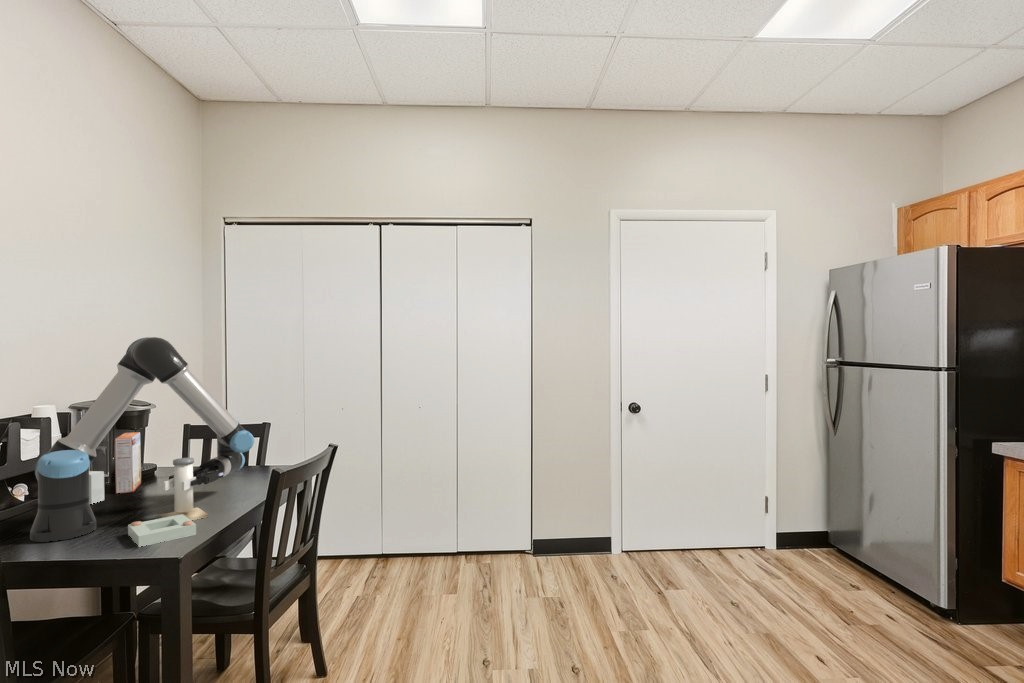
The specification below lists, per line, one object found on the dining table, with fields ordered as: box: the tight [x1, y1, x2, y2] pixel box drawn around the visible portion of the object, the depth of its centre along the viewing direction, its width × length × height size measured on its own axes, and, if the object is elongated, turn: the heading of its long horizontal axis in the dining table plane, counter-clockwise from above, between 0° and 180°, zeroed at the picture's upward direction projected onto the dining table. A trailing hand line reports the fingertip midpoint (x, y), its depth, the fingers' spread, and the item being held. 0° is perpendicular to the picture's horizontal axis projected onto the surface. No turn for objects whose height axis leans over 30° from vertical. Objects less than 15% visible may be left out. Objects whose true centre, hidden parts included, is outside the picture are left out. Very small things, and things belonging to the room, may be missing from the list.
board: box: [159, 507, 209, 521], centre depth 177 cm, size 11×11×1 cm
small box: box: [89, 470, 105, 505], centre depth 195 cm, size 8×6×10 cm
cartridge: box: [172, 457, 195, 512], centre depth 177 cm, size 6×6×16 cm
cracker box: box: [114, 431, 142, 494], centre depth 213 cm, size 14×6×21 cm, turn 23°
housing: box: [127, 514, 197, 548], centre depth 160 cm, size 14×14×4 cm
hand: (173, 486), depth 171 cm, fingers closed on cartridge, 5 cm apart
